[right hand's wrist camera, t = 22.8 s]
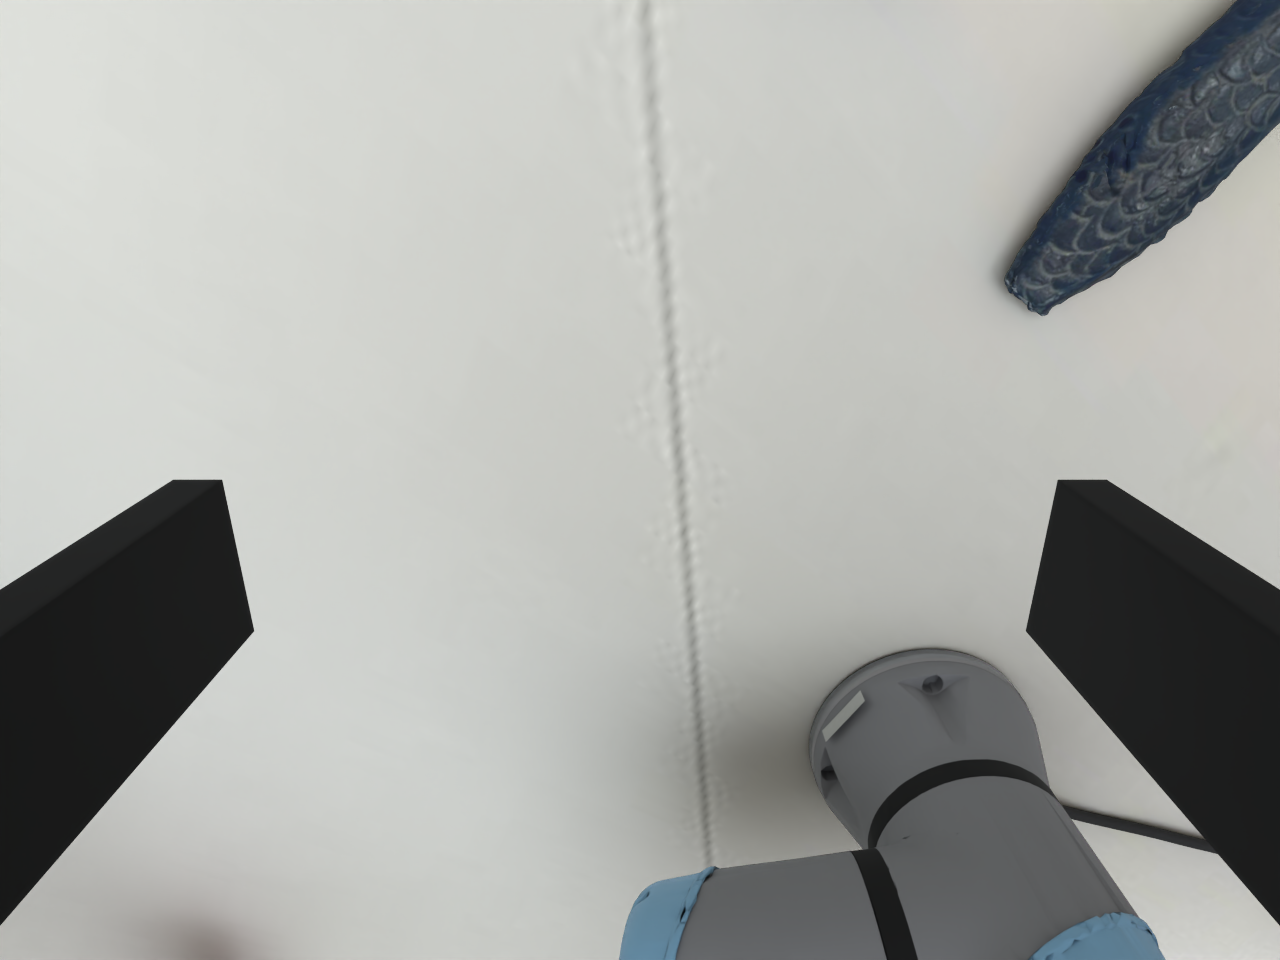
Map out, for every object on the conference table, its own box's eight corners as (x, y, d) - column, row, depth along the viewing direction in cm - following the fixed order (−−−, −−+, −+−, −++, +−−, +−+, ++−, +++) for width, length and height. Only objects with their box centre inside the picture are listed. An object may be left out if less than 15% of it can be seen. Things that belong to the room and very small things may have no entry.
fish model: (1380, -1, 38) (1483, -27, 33) (1055, 338, 44) (1103, 356, 39) (1296, -98, 36) (1390, -140, 32) (973, 265, 43) (1012, 275, 38)
